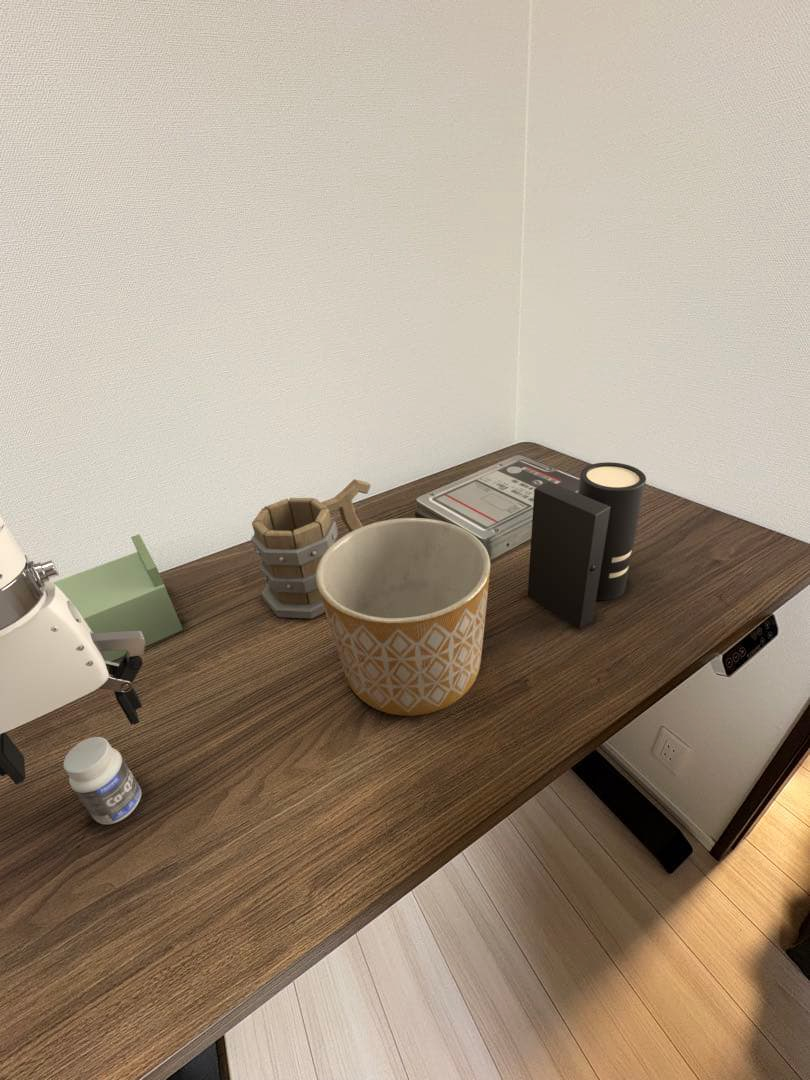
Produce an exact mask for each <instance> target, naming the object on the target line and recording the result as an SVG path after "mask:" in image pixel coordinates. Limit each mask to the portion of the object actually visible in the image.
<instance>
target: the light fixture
mask: <svg viewBox="0 0 810 1080" xmlns="http://www.w3.org/2000/svg"><path fill="white" fill-rule="evenodd" d="M579 473H580V474H579V478H580V481H579V490H578V493H576V492H574V491H571V490H569V489H566V488H564V487H562V486H559V485H557V484H554V483H552V482H547V483H545V484H543V485H541V486H539V487H537V488H535V489H534V503H533V518H532V534H531V539H530V548H529V549H530V551H529V566H528V581H527V595H526V596H527V598H529V599H531V600H532V601H534V602H535V603H537V604H538V605H540V606H541V607H543V608H545V609H546V610H548V611H550V612H551V613H553V614H555V615H556V616H558V617H559V618H560V619H562V620H564V621H565V622H567V623H568V624H570V625H572V626H574V627H575V628H576V629H578V630H581V629H582V628H584V627H585V626H586V625H587V624H589V623H590V622H592V621H593V620H594V615H595V609H596V602H597V601H610V600H614V599H616V598H619V597H621V596H622V595H623V593H624V592H625V590H626V588H627V587H626V586H627V581H628V577H629V572H630V564H631V561H632V556H633V555H632V554H633V548H634V546H635V540H636V535H637V531H638V524H639V519H640V513H641V509H642V504H643V498H644V493H645V489H646V484H647V476H646V474H645V473H644V472H643V471H642V470H640V469H639V468H637V467H635V466H632V465H629V464H625V463H620V462H611V461H610V462H608V461H606V462H604V461H603V462H597V463H593V464H592V463H591V464H589V465H587V466H585V467H584V468H583V469H582V470H581V471H580V472H579Z"/></svg>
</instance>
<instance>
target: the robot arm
mask: <svg viewBox="0 0 810 1080" xmlns="http://www.w3.org/2000/svg"><path fill="white" fill-rule="evenodd" d="M57 576H60V573H59V570H58V569H57V566H56V565H55V563H54V561H53V560H48V561H45V562H41V561H40V562H37V563H36V562H34V560H30V559H29V556H28V555H27V554H24V552H23V550H22V549H21V547H20V546H19V544H18V542H17V541H16V539H15V537H14V535H13V534H12V532H11V530H10V529H9V527H8V525H7V524H6V521H5V520H4V518H3V517H2V515H1V514H0V777H4V776H6V775H7V776H8V777H9V778H10V780H11V781H12V782H13V783H14V784H15V785H19V784H21V783H23V782H24V781H25V780H26V778H27V777H26V763H25V757H24V755H23V753H22V752H21V751H20V750H19V748H18V747H17V746H16V744H15V743H14V742H13V740H12V739H11V738H10V737H9V736H8V734H7V732H10V731H12V730H14V729H16V728H19V727H21V726H23V725H25V724H27V723H29V722H32V721H34V720H36V719H38V718H40V717H42V716H45V715H47V714H49V713H51V712H53V711H55V710H57V709H59V708H61V707H64V706H66V705H68V704H70V703H72V702H74V701H76V700H79V699H81V698H82V697H83V698H84V697H85V696H87V695H89V694H91V693H92V692H95V691H96V690H98V689H100V690H101V689H102V690H106V691H112V692H113V693H114V696H115V699H116V702H117V704H118V705H119V706H120V708H121V710H122V712H123V713H124V715H125V717H126V719H127V720H128V722H129V724H130V726H131V725H132V726H135V725H137V724H139V723H140V718H139V715H138V712H137V710H138V709H141V708H142V707H143V705H142V703H141V700H140V698H139V696H138V693H137V691H136V689H135V688H134V684H133V682H134V681H135V679H136V677H137V676H138V673H139V672H140V670H141V668H142V666H143V665H144V664H143V663H144V662H143V657H144V655H145V650H146V649H145V648H146V646H145V644H146V640H145V637H144V635H143V633H142V632H141V631H126V632H108V633H93V632H92V631H91V629H90V628H89V626H88V625H87V623H86V622H85V620H84V619H83V617H82V616H81V615H80V613H79V612H78V610H77V609H76V608H75V606H74V605H73V604H72V603H71V601H70V600H69V599H68V598H67V597H66V595H65V594H64V593H63V592H62V591H61V590H60V589H59V588H58V587H57V586H56V585H55V584H54V583H53V581H50V579H52V578H55V577H57ZM119 650H127V652H126V654H125V655H124V656H123V657H122V660H121V661H120V662H119V663H117V662H114V661H112V662H109V661H105V660H104V659H103V657H104V652H106V651H119Z"/></svg>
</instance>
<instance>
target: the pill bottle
mask: <svg viewBox="0 0 810 1080" xmlns="http://www.w3.org/2000/svg"><path fill="white" fill-rule="evenodd" d="M63 769H64V770H65V772H66V774H67V775H68V782H69V786H70V787H71V789H72V791H73V792H74V793H75V795H76V796H77V798H78V799H79V800H80V802H81V803H82V805H83V806H84V808H86V810H87V811H88V813H89V814H90V817H92V818H93V820H94V821H96V822H97V823H98V824H101V825H113V824H116V823H118V822H121V821H123V820H124V819H126V818H127V817H129V816H130V815H131V814H132V812H133V811H134V810H135V809H136V808H137V806H138V804H139V802H140V801H141V798H142V789H141V787H140V785H139V782H138V781H137V779H136V777H135V776H134V774H133V772H132V771H131V770H130V768H129V766H128V765H127V763H126V761H125V759H124V757H123V756H122V754H121V753H120V751H119V750H118V749H115V748H114V747H112V745H111V744H110V742H109V741H108V740H107V739H106V738H104V737H101V736H93V737H89V738H86V739H83V740H81V741H80V742H78V743H77V744H76V745H74V746H73V747H72V748H71V749H69V751H68V752H67V754H66V755H65V757H64V760H63Z"/></svg>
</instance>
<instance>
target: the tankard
mask: <svg viewBox="0 0 810 1080" xmlns="http://www.w3.org/2000/svg"><path fill="white" fill-rule="evenodd" d="M371 485H372V484H371V483H370V482H368V481H365V480H360V479H356V478H354V479H352V481H351V482H350V483H348V484H347V486H346V487H345V488H343V489H342V490H341V491H339V492H338V493H337V495H336V496H334V497H331V498H329V499H326V500H324V501H320V500H318V499H317V498H315V497H289V499H288V498H285V499H281V500H279V501H277V502H273V503H270V504H268V505H266V506H264V507H262V508H261V510H260V511H259V513H258V514H257V515H256V516H255V518H254V519H253V520H252V522H251V527H252V529H253V532H254V534H253V535H252V537H251V538H250V540H251V543H252V546H253V550H254V552H255V553H256V554H257V555H258V556H259V557H260V558H261V563H260V564H259V566H258V567H259V571H260V574H261V577H262V579H263V580H264V581H265V582H266V585H265V587H264V589H263V590H262V591H261V596H262V599H263V601H264V602H265V604H267V606H268V607H269V608H270V609H271V610H272V612H273V613H274V614H275V615H276V617H277V618H288V619H289V618H293V619H309V620H310V619H311V620H312V619H314V618H316V617H318V616H320V615H322V614H325V613H326V612H325V609H324V606H323V603H322V599H321V596H320V593H319V590H318V586H317V583H316V570H317V566H318V564H319V561H320V559H321V558H322V556H323V555H324V553H325V552H326V551H327V550H328V549H329V547H330V546H332V545H333V544H334V543H335V542H336V541H337V538H338V535H339V532H338V525H337V522H336V521H335V520H333V518H331V513H332V512H334V511H336V510H338V511H339V515H340V519H341V520H342V522H343V524H344V525H345V526H346V528H347V529H348V531H349V533H350V532H352V531H354V530H356V529H359V528H361V527H364V526H363V524H362V523H361V521H360V519H359V518H358V516H357V514H356V511H355V507H354V504H353V499H355V497H356V496H357V495H358V494H359V493H360V494H365V495H367V494H368V493H369V491H370V488H371Z"/></svg>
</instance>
